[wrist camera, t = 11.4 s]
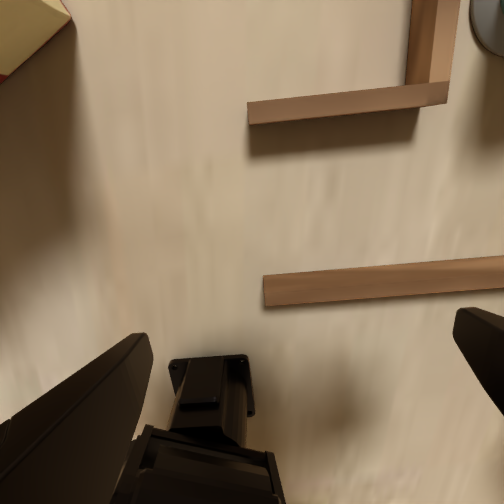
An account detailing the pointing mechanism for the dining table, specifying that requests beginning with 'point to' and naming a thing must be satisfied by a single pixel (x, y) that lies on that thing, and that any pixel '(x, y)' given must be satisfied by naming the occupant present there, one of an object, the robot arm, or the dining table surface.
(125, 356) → the robot arm
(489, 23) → the pad
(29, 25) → the gift box
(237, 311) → the dining table surface
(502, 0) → the peg
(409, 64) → the channel
